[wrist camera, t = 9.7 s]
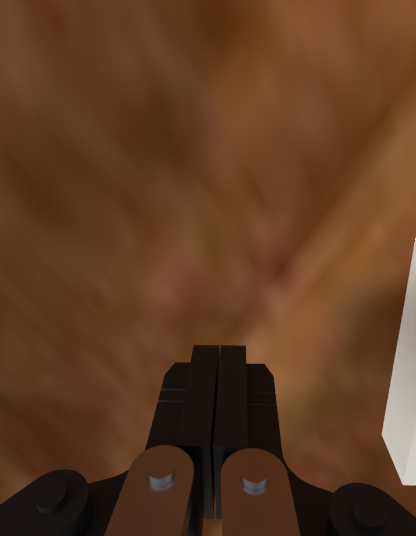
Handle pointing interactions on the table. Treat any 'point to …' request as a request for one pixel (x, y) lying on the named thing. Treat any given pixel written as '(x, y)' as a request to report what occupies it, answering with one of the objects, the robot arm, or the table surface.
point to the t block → (404, 391)
